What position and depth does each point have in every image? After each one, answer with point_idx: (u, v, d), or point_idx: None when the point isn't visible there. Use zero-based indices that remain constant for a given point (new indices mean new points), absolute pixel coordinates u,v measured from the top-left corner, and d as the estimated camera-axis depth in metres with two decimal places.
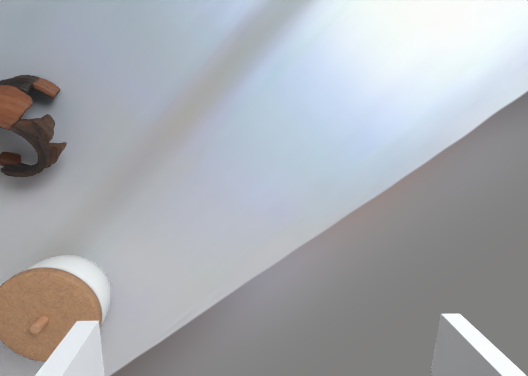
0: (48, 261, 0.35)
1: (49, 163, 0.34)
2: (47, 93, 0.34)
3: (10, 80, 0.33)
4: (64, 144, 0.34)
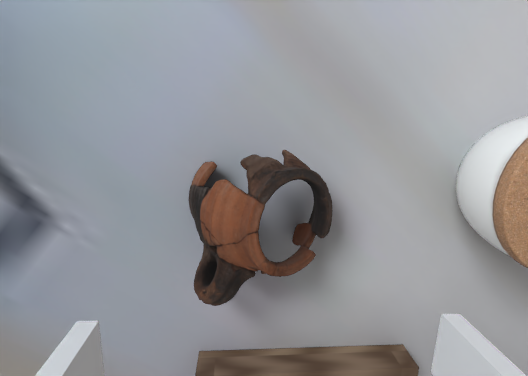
0: (476, 193, 0.22)
1: None
2: (211, 170, 0.23)
3: (195, 216, 0.24)
4: (285, 151, 0.22)
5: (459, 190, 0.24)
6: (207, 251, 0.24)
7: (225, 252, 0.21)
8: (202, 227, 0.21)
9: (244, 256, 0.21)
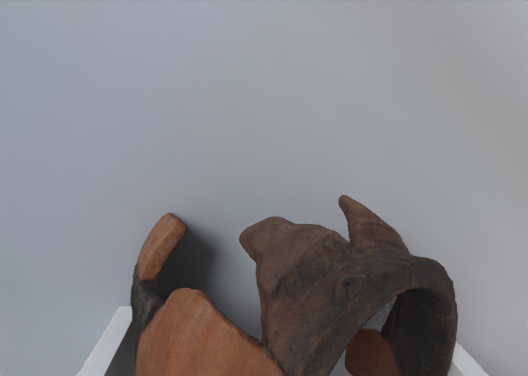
0: None
1: None
2: (174, 241, 0.10)
3: None
4: (348, 200, 0.09)
5: None
6: None
7: None
8: None
9: None
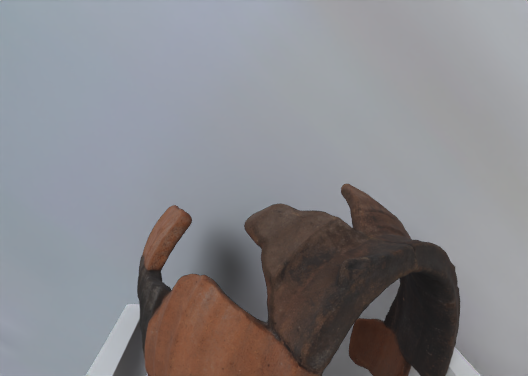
0: None
1: None
2: (179, 231, 0.10)
3: None
4: (350, 188, 0.09)
5: None
6: None
7: None
8: None
9: None
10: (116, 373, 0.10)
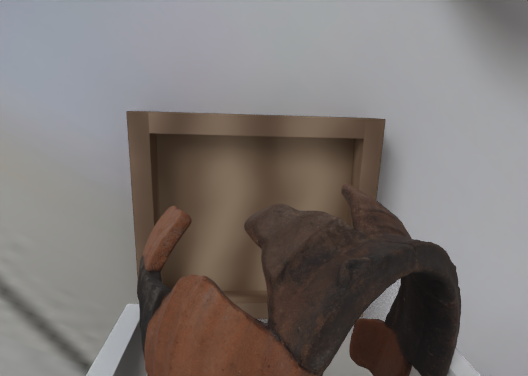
0: None
1: None
2: (179, 231, 0.10)
3: None
4: (350, 188, 0.09)
5: None
6: None
7: None
8: None
9: None
10: (116, 373, 0.10)
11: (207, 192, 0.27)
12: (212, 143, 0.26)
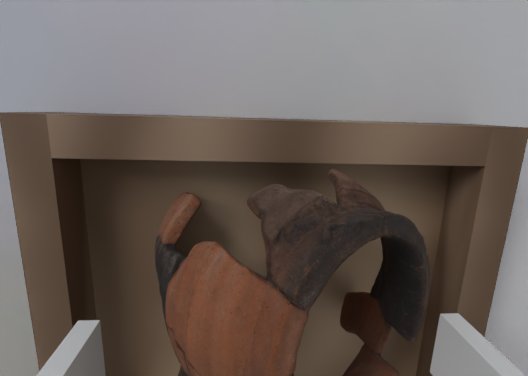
0: None
1: None
2: (191, 211, 0.12)
3: None
4: (336, 172, 0.11)
5: None
6: None
7: None
8: (171, 337, 0.10)
9: None
10: None
11: None
12: (188, 172, 0.14)
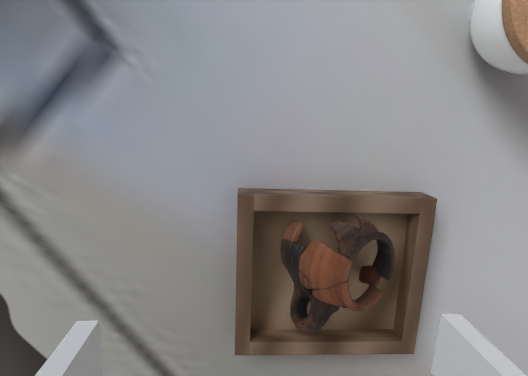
0: (487, 7, 0.25)
1: None
2: (302, 229, 0.31)
3: (289, 263, 0.31)
4: (359, 215, 0.30)
5: (472, 20, 0.28)
6: (298, 290, 0.31)
7: (320, 294, 0.28)
8: (300, 275, 0.29)
9: (334, 297, 0.28)
10: None
11: None
12: (296, 213, 0.33)
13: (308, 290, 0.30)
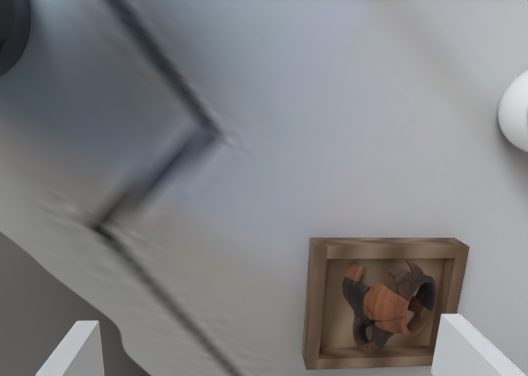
0: (515, 110, 0.33)
1: (424, 274, 0.38)
2: (363, 271, 0.39)
3: (351, 297, 0.39)
4: (408, 261, 0.38)
5: (501, 113, 0.35)
6: (358, 318, 0.40)
7: (381, 324, 0.36)
8: (364, 309, 0.37)
9: (393, 327, 0.36)
10: None
11: None
12: None
13: (369, 320, 0.38)
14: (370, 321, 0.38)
